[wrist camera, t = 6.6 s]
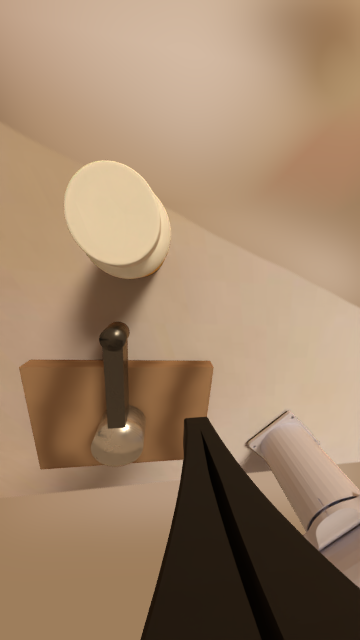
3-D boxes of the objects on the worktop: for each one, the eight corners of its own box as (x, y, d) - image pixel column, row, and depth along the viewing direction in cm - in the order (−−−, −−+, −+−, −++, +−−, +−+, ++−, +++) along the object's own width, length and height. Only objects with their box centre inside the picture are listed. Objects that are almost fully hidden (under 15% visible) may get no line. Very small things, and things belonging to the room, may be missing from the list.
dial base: (209, 360, 21) (214, 368, 19) (198, 447, 24) (201, 459, 23) (30, 359, 18) (17, 368, 16) (48, 456, 22) (39, 471, 20)
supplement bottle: (116, 278, 17) (62, 286, 8) (105, 218, 15) (21, 137, 6) (169, 274, 17) (179, 276, 8) (164, 215, 16) (169, 135, 7)
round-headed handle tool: (145, 437, 20) (143, 464, 18) (102, 440, 20) (92, 468, 17) (146, 319, 16) (143, 329, 14) (93, 317, 16) (78, 327, 13)
